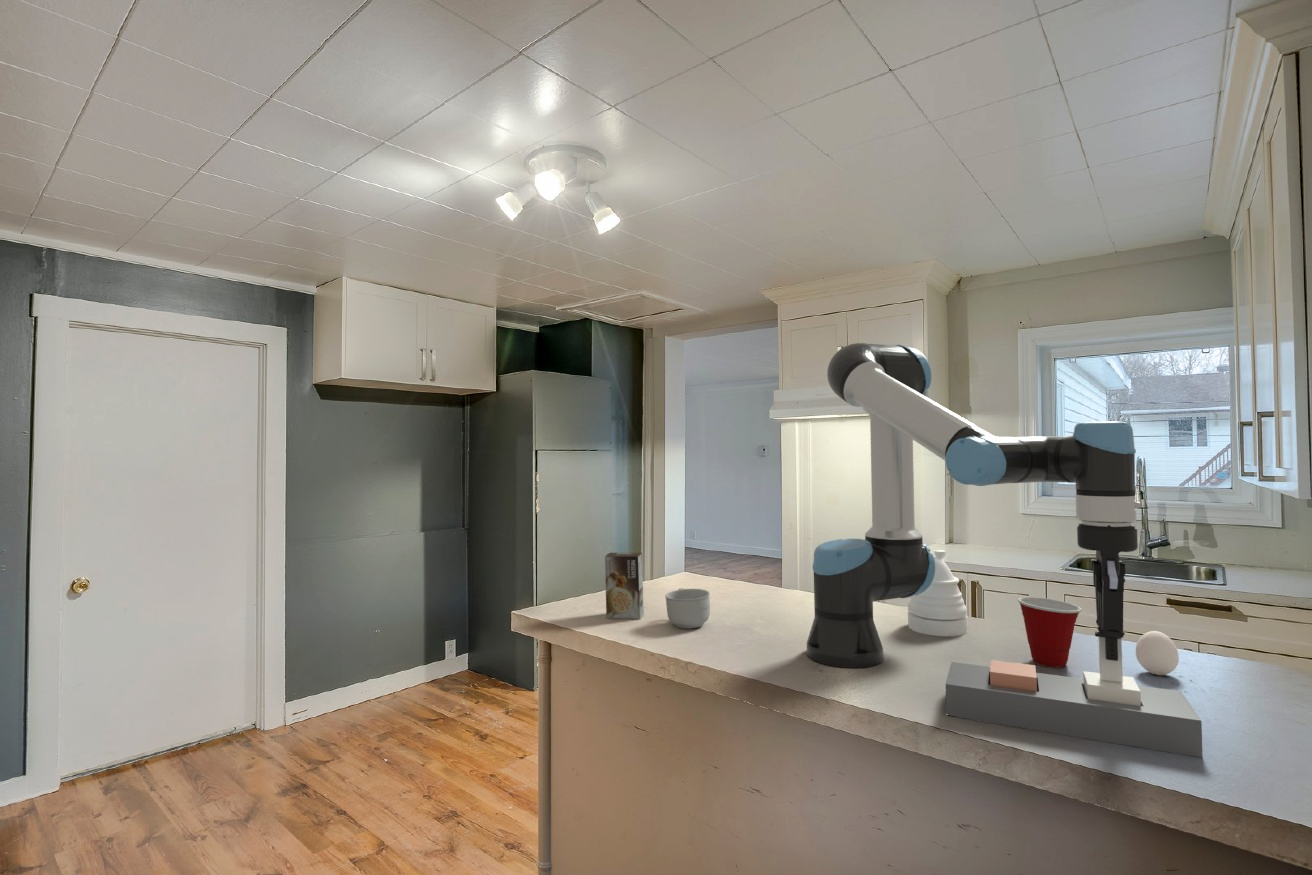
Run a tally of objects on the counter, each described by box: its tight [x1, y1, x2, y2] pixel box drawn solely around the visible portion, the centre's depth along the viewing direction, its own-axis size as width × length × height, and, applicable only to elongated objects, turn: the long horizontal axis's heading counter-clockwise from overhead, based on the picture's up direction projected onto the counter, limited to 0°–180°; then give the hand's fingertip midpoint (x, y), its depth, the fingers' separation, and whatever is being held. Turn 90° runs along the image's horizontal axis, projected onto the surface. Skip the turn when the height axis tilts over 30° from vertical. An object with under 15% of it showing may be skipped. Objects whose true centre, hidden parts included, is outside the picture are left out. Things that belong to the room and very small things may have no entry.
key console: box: [945, 661, 1204, 758], centre depth 102 cm, size 32×12×5 cm, turn 62°
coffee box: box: [604, 552, 645, 620], centre depth 170 cm, size 9×6×16 cm
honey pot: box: [907, 549, 969, 637], centre depth 154 cm, size 13×13×18 cm
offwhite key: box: [1082, 670, 1141, 706], centre depth 99 cm, size 6×6×4 cm
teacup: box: [664, 587, 711, 630], centre depth 161 cm, size 14×11×8 cm
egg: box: [1135, 630, 1180, 676], centre depth 121 cm, size 6×6×8 cm
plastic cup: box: [1017, 596, 1082, 668], centre depth 128 cm, size 11×11×12 cm
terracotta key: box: [989, 659, 1037, 692], centre depth 105 cm, size 6×6×4 cm
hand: (1111, 679), depth 99 cm, fingers closed
